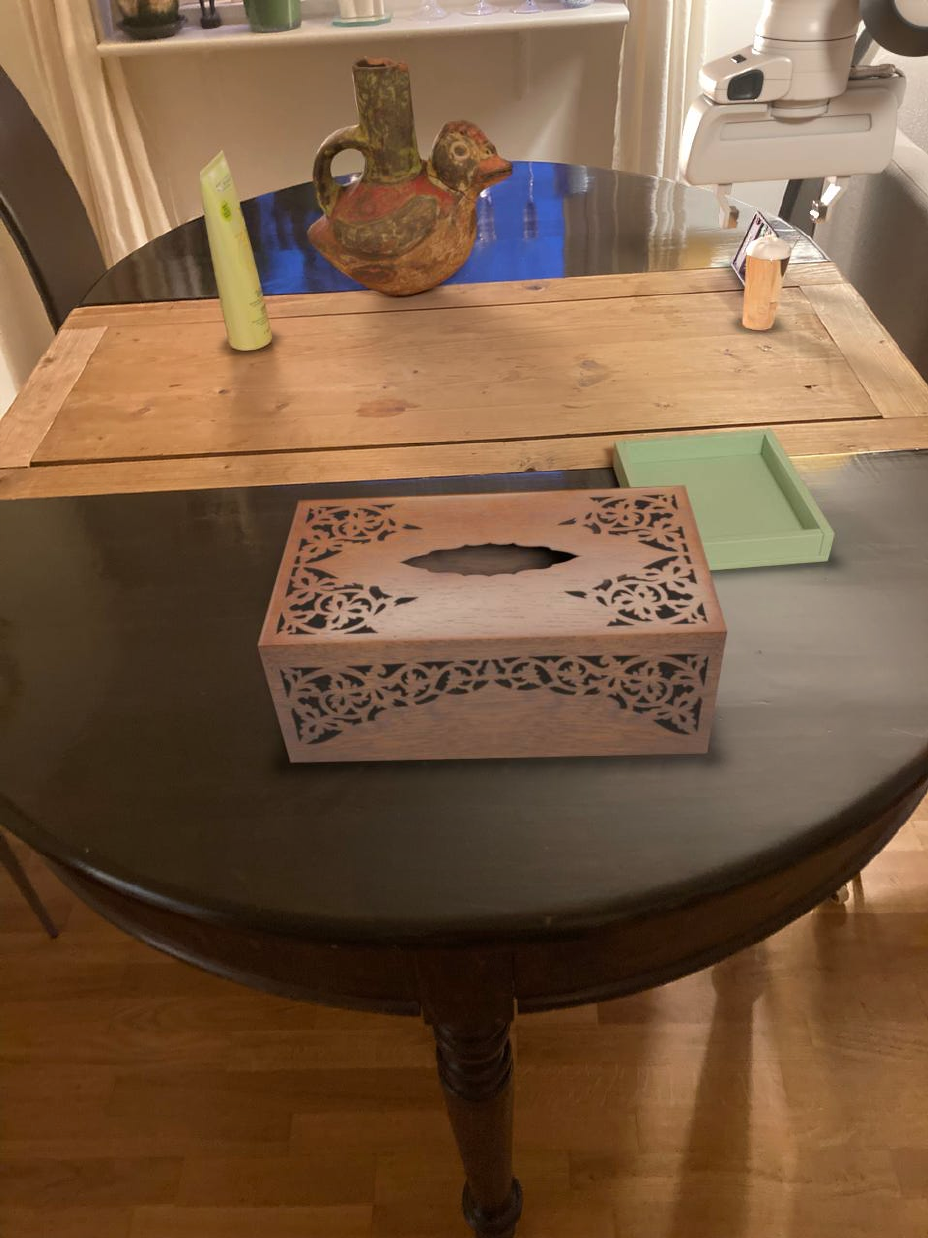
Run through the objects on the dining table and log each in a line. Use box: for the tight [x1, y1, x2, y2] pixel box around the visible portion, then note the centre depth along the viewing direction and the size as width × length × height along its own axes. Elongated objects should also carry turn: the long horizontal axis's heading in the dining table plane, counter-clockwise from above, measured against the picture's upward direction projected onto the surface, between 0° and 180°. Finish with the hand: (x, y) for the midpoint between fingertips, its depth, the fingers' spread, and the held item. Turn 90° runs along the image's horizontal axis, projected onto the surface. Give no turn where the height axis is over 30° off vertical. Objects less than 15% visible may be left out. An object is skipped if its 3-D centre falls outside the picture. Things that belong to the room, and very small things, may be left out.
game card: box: [730, 210, 780, 287], centre depth 109 cm, size 7×5×9 cm
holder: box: [612, 428, 836, 571], centre depth 75 cm, size 14×16×3 cm
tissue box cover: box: [257, 485, 728, 763], centre depth 59 cm, size 26×14×10 cm, turn 89°
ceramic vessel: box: [306, 55, 514, 296], centre depth 107 cm, size 17×26×25 cm, turn 80°
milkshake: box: [742, 235, 802, 331], centre depth 98 cm, size 4×5×10 cm
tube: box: [199, 149, 273, 352], centre depth 99 cm, size 6×5×20 cm
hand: (773, 223), depth 94 cm, fingers open, 8 cm apart
